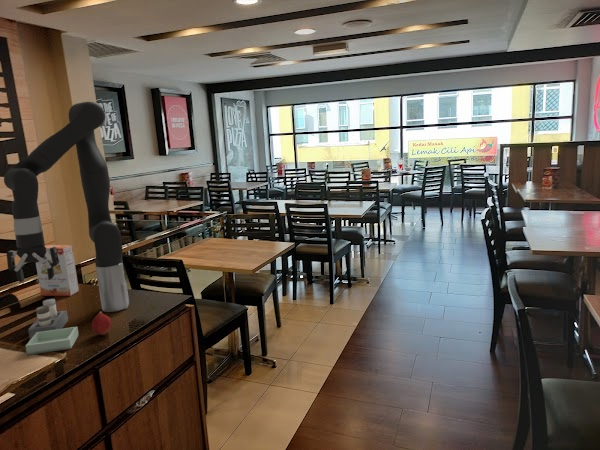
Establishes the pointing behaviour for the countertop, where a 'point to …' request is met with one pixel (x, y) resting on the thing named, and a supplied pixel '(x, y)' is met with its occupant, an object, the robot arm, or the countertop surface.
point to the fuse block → (56, 324)
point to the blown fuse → (43, 316)
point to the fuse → (51, 307)
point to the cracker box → (59, 273)
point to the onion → (101, 324)
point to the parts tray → (52, 340)
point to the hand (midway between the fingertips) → (36, 280)
